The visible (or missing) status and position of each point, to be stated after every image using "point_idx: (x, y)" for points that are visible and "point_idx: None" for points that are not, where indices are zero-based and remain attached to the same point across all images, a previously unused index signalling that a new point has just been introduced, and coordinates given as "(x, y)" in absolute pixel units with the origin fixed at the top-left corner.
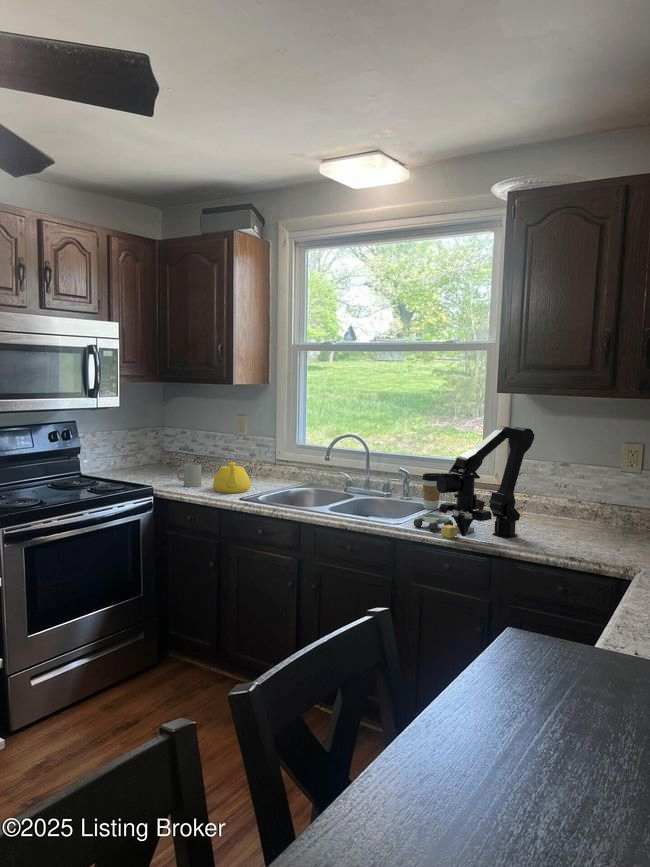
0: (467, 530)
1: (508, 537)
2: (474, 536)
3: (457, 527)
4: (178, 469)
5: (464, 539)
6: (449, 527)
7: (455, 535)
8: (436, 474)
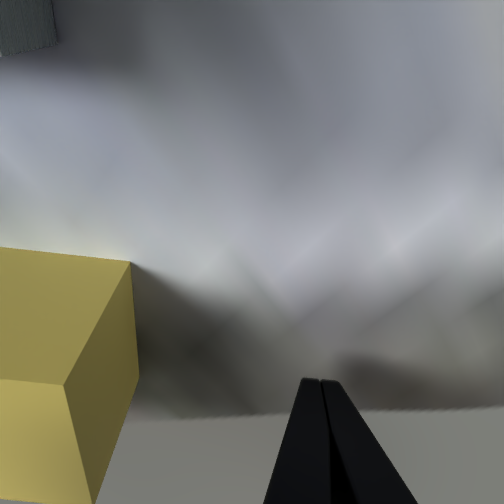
0: (388, 470)
1: None
2: (334, 21)
3: (67, 378)
4: None
5: (307, 323)
6: (30, 479)
7: (125, 305)
8: None
